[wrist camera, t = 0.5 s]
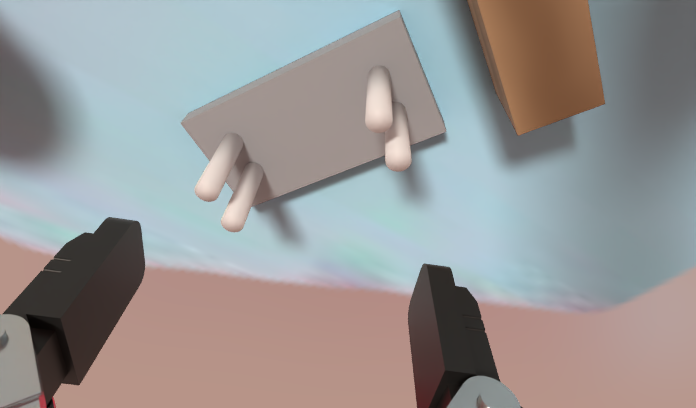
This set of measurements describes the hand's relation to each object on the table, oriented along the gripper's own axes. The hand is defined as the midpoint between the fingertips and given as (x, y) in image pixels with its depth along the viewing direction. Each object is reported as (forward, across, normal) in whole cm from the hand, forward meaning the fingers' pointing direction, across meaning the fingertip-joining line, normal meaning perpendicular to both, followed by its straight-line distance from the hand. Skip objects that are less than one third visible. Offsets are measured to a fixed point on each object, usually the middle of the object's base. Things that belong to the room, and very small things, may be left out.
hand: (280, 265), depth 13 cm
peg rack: (+20, 0, +4) cm, 20 cm away
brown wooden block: (+19, -9, -7) cm, 22 cm away
